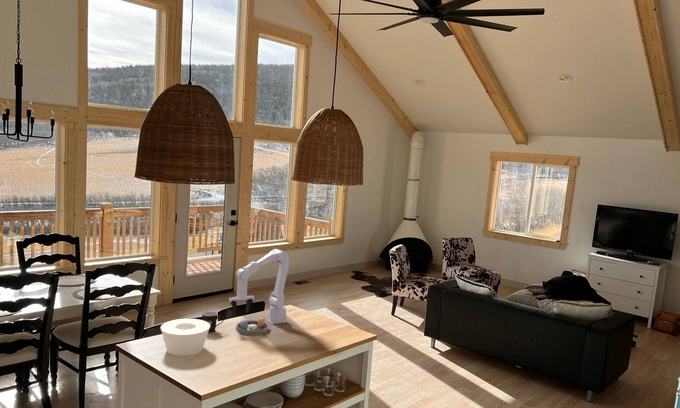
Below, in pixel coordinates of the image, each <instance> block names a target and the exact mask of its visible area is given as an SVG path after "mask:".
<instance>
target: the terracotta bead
mask: <svg viewBox="0 0 680 408" xmlns="http://www.w3.org/2000/svg"><path fill="white" fill-rule="evenodd" d="M257 321H258V328H264V327H265V323H266V318H265V317H258V318H257Z"/></svg>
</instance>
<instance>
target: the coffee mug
mask: <svg viewBox="0 0 680 408" xmlns="http://www.w3.org/2000/svg"><path fill="white" fill-rule="evenodd" d="M219 318H222V319H223V320H222V321H221V322H219V323H217V321H218V319H219ZM201 320H203V321H206V322H208V323H209V324H210V328H209V331H208V334H212V333H214V332H215V331H216V327H217V326H219V325H221V324H222V323H223V322H224V321H225V317H224V316H223V315H219V316H218V312H217V311H212V310H210V311H207V310H206V311H204V312H202V313H201Z"/></svg>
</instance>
